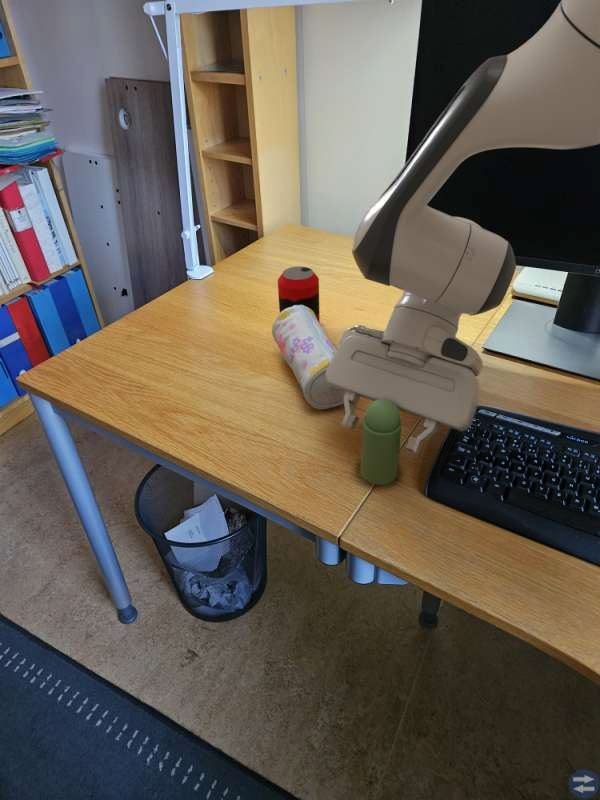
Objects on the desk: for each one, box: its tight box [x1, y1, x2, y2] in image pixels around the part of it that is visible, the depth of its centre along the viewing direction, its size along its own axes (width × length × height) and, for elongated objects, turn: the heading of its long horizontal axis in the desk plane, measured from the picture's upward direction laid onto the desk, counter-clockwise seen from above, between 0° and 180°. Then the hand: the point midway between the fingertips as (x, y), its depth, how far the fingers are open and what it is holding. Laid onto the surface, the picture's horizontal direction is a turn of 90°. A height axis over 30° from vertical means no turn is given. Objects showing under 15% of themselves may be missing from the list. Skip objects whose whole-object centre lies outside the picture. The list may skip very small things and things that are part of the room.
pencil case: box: [271, 305, 346, 410], centre depth 93 cm, size 21×9×10 cm, turn 18°
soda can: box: [277, 266, 321, 324], centre depth 105 cm, size 8×8×12 cm
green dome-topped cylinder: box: [360, 399, 403, 486], centre depth 73 cm, size 5×5×12 cm
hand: (379, 439), depth 73 cm, fingers open, 8 cm apart
